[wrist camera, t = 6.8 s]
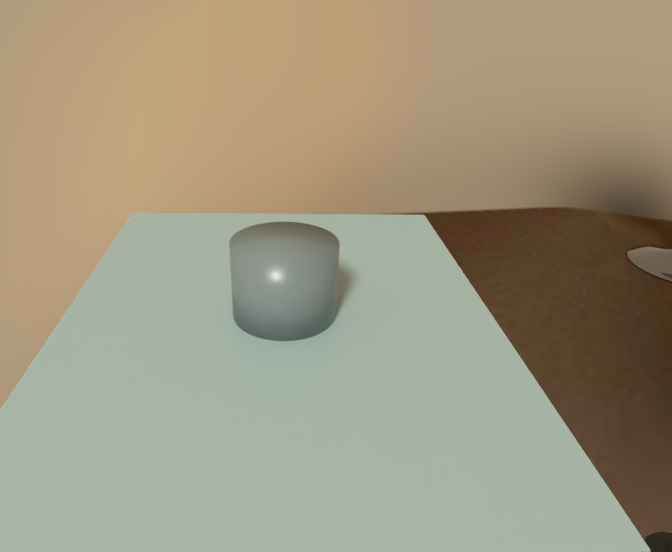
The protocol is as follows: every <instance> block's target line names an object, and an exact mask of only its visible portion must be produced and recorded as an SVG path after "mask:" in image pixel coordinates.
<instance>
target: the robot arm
mask: <svg viewBox="0 0 672 552" xmlns="http://www.w3.org/2000/svg"><path fill="white" fill-rule="evenodd" d="M644 541H645V543H646V544H647V546H648V547H649V549H650V550H651V551H650V552H672V533H666V532H659V533H654V534H651V535H649V536H647V537H646V538H645V539H644Z"/></svg>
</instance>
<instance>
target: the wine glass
mask: <svg viewBox="0 0 672 552" xmlns="http://www.w3.org/2000/svg"><path fill="white" fill-rule="evenodd" d="M627 257H628V259H629V261H630V262H631V263H633V264H634V265H635V266H636V267H638V268H639V269H641V270H643V271H645V272H647V273H649V274H651V275H653V276H656V277H658V278H661V279H664V280H667V281H670V282H672V247H670V246H662V245H640V246H636V247H633V248H631V249H630V250H629V251H628V252H627Z"/></svg>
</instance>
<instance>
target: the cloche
mask: <svg viewBox="0 0 672 552" xmlns="http://www.w3.org/2000/svg"><path fill="white" fill-rule="evenodd" d="M650 551H651V550H650V549H649V547H648V546H647V544H646V543H645V541H644V540H643V538H642V537H641V535H640V534H639V532H638V531H637V529H636V528H635V526H634V525H633V523H632V522H631V520H630V519H629V517H628V516H627V514H626V513H625V512H624V510H623V509H622V507H621V506H620V504H619V503H618V501H617V500H616V498H615V497H614V495H613V494H612V492H611V491H610V489H609V488H608V486H607V485H606V483H605V482H604V480H603V479H602V477H601V476H600V475H599V473H598V472H597V470H596V469H595V467H594V466H593V464H592V463H591V461H590V460H589V458H588V457H587V455H586V454H585V452H584V451H583V449H582V448H581V446H580V445H579V443H578V442H577V440H576V439H575V437H574V436H573V435H572V433H571V432H570V430H569V429H568V427H567V426H566V424H565V423H564V421H563V420H562V418H561V417H560V415H559V414H558V412H557V411H556V409H555V408H554V406H553V405H552V403H551V402H550V400H549V399H548V398H547V396H546V395H545V393H544V392H543V390H542V389H541V387H540V386H539V384H538V383H537V381H536V380H535V378H534V377H533V375H532V374H531V372H530V371H529V369H528V368H527V366H526V365H525V363H524V362H523V361H522V359H521V358H520V356H519V355H518V353H517V352H516V350H515V349H514V347H513V346H512V344H511V343H510V341H509V340H508V338H507V337H506V335H505V334H504V332H503V331H502V329H501V328H500V326H499V325H498V324H497V322H496V321H495V319H494V318H493V316H492V315H491V313H490V312H489V310H488V309H487V307H486V306H485V304H484V303H483V301H482V300H481V298H480V297H479V295H478V294H477V292H476V291H475V289H474V288H473V287H472V285H471V284H470V282H469V281H468V279H467V278H466V276H465V275H464V273H463V272H462V270H461V269H460V267H459V266H458V264H457V263H456V261H455V260H454V258H453V257H452V255H451V254H450V252H449V251H448V250H447V248H446V247H445V245H444V244H443V242H442V241H441V239H440V238H439V236H438V235H437V233H436V232H435V230H434V229H433V227H432V226H431V224H430V223H429V221H428V220H427V218H426V217H425V215H362V214H220V213H132V215H131V216H130V217H129V219H128V220H127V222H126V223H125V225H124V226H123V228H122V229H121V231H120V232H119V234H118V235H117V237H116V238H115V240H114V241H113V243H112V244H111V246H110V247H109V249H108V250H107V252H106V253H105V254H104V256H103V257H102V259H101V261H100V262H99V264H98V265H97V266H96V268H95V270H94V271H93V272H92V274H91V275H90V277H89V278H88V280H87V282H86V283H85V285H84V286H83V287H82V289H81V290H80V292H79V293H78V295H77V297H76V298H75V299H74V301H73V302H72V304H71V305H70V307H69V308H68V310H67V311H66V312H65V314H64V316H63V317H62V319H61V320H60V321H59V323H58V324H57V326H56V327H55V329H54V330H53V332H52V333H51V335H50V337H49V338H48V339H47V341H46V342H45V344H44V345H43V347H42V348H41V350H40V351H39V353H38V354H37V356H36V357H35V359H34V360H33V362H32V363H31V365H30V366H29V368H28V369H27V370H26V372H25V374H24V375H23V377H22V378H21V380H20V381H19V383H18V384H17V385H16V387H15V389H14V390H13V391H12V393H11V394H10V396H9V398H8V399H7V400H6V402H5V403H4V405H3V406H2V408H1V409H0V552H650Z"/></svg>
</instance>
